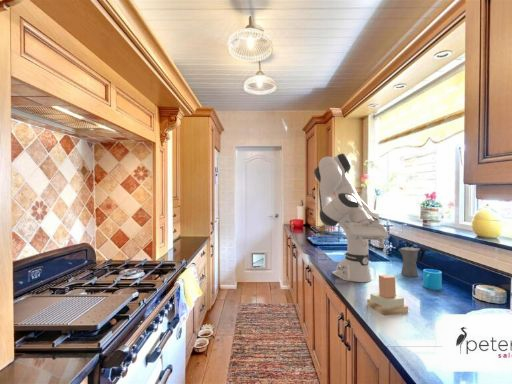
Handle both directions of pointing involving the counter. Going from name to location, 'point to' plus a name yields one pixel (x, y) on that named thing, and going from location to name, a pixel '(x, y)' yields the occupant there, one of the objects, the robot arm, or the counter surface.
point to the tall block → (387, 286)
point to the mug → (432, 279)
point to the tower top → (387, 300)
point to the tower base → (388, 311)
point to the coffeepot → (410, 260)
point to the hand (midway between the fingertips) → (374, 246)
